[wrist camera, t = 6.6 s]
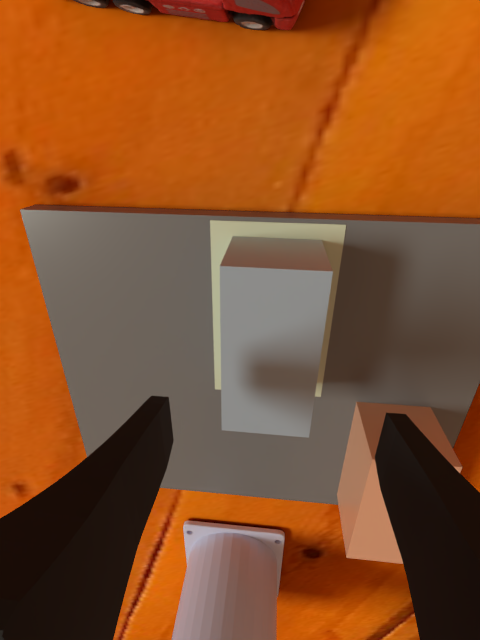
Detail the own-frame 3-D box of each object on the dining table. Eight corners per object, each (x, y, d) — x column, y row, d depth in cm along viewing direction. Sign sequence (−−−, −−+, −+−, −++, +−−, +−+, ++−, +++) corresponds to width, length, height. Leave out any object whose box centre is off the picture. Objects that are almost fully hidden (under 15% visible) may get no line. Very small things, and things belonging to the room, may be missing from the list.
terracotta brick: (398, 500, 24) (419, 565, 20) (336, 494, 24) (346, 557, 21) (430, 407, 20) (462, 467, 16) (356, 401, 20) (372, 459, 17)
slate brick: (303, 382, 20) (308, 437, 16) (231, 377, 20) (221, 430, 17) (321, 239, 16) (333, 271, 13) (232, 236, 16) (219, 265, 13)
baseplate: (420, 497, 25) (426, 513, 24) (101, 467, 27) (93, 481, 26) (525, 219, 16) (543, 226, 15) (35, 204, 18) (19, 209, 17)
